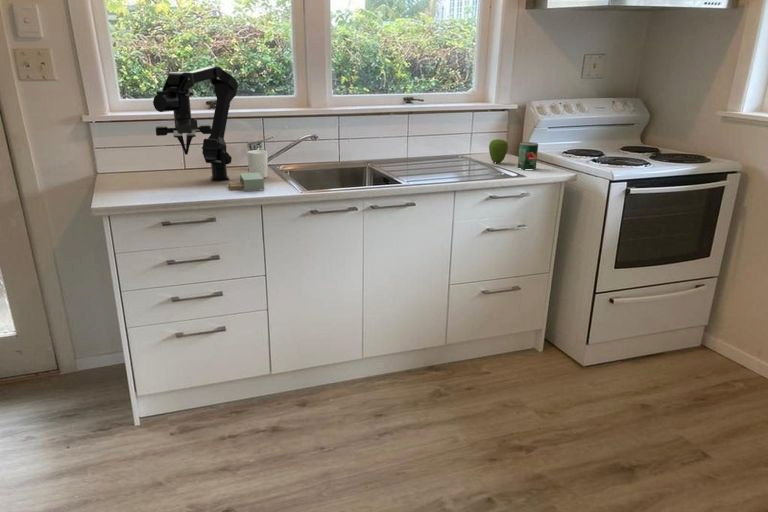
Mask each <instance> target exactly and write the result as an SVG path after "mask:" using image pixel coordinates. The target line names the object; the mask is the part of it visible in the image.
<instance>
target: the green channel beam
mask: <svg viewBox="0 0 768 512" xmlns="http://www.w3.org/2000/svg"><path fill="white" fill-rule="evenodd" d="M239 180H240V181H239V182H242V181H243V182H244V192H248V190H253V191H261V190H260V189H264V190H265V178H263V177H262V176H261V175H260V174H259V173H250V172H249V173H248V172H246V173H245V172H244V173H242V172H241V173H239Z"/></svg>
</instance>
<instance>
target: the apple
mask: <svg viewBox="0 0 768 512" xmlns="http://www.w3.org/2000/svg"><path fill="white" fill-rule="evenodd" d="M508 148H509V144H508V142H507V141H506V140H505V139H501V138H498V139H492V140H491V141H490V143H489V145H488V150H489V151H488V153H489V155H490V159H491V161H492V163H494V162H496V163H499V164H501V163H502V162H503V161H504V160H505V157H506V155H507V153H508ZM500 162H501V163H500Z"/></svg>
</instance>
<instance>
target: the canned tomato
mask: <svg viewBox="0 0 768 512" xmlns="http://www.w3.org/2000/svg"><path fill="white" fill-rule="evenodd" d="M538 149H539V143H538V142H532V141H529V142H526V141H522V142H519V148H518V161H517V169H518V168H521V169H536V170H537V162H538V161H537V159H538V151H539V150H538Z"/></svg>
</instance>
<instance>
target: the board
mask: <svg viewBox="0 0 768 512" xmlns="http://www.w3.org/2000/svg"><path fill="white" fill-rule="evenodd" d="M228 188H229V189H230V191H240V190H239V189H244V182H243V181H242V182H240V181H228Z"/></svg>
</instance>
